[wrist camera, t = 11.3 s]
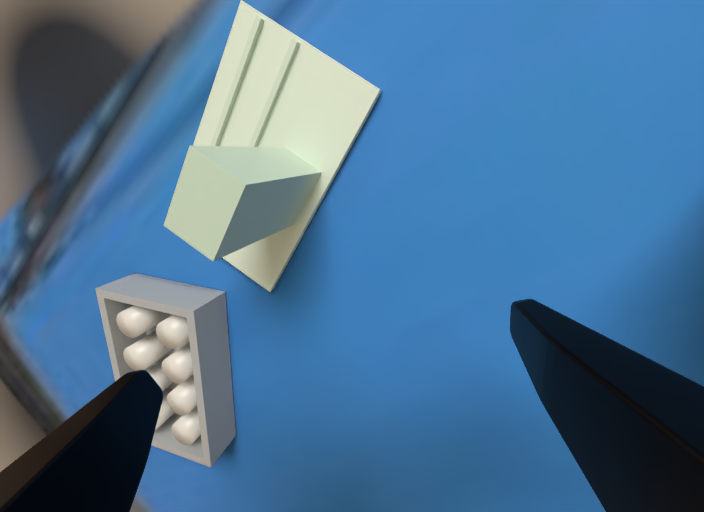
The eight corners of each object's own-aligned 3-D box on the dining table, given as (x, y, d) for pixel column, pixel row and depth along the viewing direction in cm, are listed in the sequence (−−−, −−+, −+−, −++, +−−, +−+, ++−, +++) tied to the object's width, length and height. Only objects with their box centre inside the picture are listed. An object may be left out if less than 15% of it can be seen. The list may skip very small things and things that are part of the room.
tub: (225, 291, 23) (193, 311, 20) (235, 435, 27) (211, 467, 24) (135, 273, 25) (95, 288, 22) (158, 409, 29) (127, 436, 26)
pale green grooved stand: (383, 92, 16) (327, 48, 9) (276, 287, 22) (188, 353, 15) (250, 6, 17) (102, -96, 10) (178, 216, 23) (49, 247, 15)
